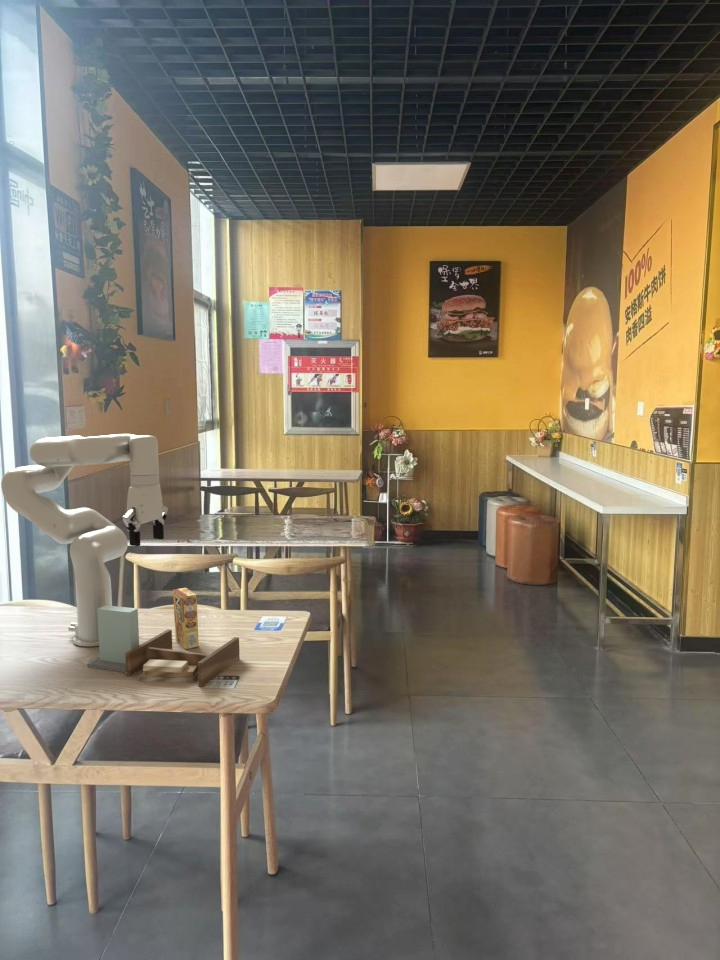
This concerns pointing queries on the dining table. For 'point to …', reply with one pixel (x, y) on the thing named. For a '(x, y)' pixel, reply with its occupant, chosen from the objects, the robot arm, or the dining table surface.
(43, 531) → the robot arm
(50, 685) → the dining table surface
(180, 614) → the candy box
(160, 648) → the rack
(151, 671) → the offcut stack
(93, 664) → the rubber mat
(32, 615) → the dining table surface
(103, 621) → the pale mint block
